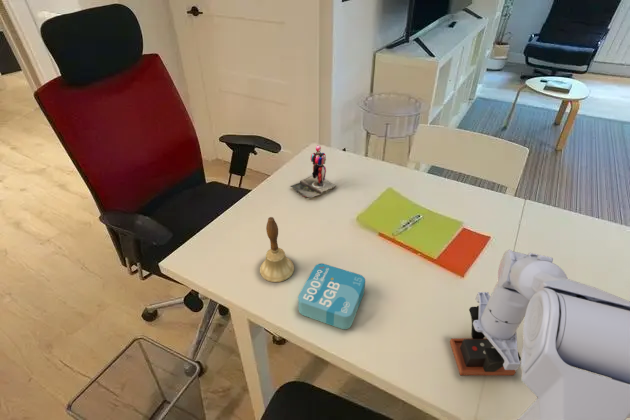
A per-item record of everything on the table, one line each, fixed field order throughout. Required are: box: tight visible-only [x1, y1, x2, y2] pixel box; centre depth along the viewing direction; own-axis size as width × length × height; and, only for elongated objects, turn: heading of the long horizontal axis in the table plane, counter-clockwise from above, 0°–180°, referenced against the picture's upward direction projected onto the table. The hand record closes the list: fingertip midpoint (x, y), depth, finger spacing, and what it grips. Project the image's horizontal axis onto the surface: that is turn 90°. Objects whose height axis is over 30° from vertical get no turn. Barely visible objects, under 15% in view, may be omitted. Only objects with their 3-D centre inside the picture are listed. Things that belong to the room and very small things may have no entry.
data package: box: [297, 262, 366, 330], centre depth 81 cm, size 12×4×12 cm
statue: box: [289, 145, 337, 199], centre depth 112 cm, size 11×9×15 cm
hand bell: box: [259, 216, 295, 283], centre depth 85 cm, size 8×8×16 cm
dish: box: [449, 337, 517, 376], centre depth 72 cm, size 10×7×1 cm
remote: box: [460, 339, 495, 367], centre depth 71 cm, size 7×4×3 cm, turn 90°
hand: (482, 353), depth 71 cm, fingers open, 6 cm apart
